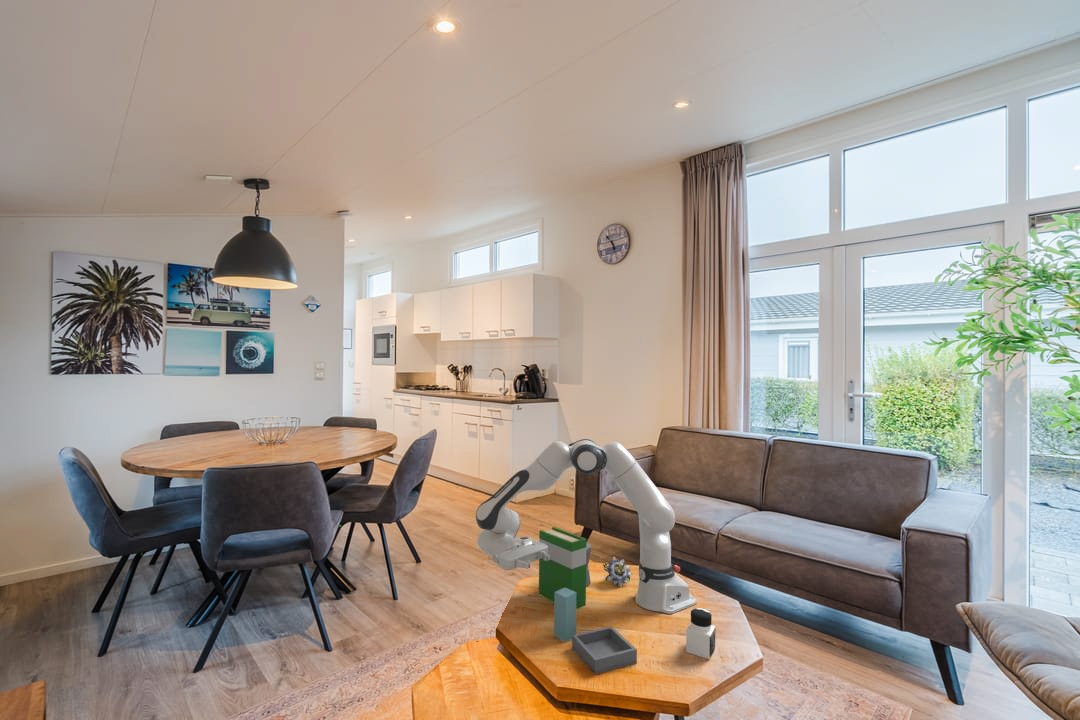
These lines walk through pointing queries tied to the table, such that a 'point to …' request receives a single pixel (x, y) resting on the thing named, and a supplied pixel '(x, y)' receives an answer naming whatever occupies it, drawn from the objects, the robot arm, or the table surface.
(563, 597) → the tall teal prism
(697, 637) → the medicine bottle
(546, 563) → the hardback book
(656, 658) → the table surface
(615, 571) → the passion flower
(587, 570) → the coffeepot
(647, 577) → the robot arm
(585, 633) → the box
